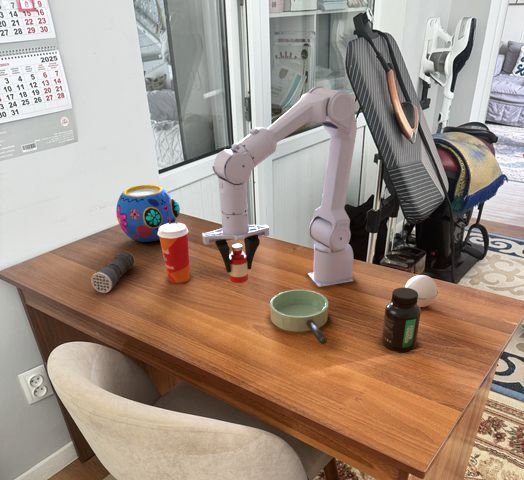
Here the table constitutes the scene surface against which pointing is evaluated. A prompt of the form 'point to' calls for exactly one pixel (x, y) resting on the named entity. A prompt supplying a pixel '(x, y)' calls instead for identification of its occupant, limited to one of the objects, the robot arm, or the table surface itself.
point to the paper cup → (175, 251)
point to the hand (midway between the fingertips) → (238, 269)
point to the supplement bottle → (401, 321)
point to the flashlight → (112, 272)
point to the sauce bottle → (238, 264)
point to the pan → (298, 309)
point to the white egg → (423, 289)
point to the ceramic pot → (145, 211)
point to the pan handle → (316, 332)
